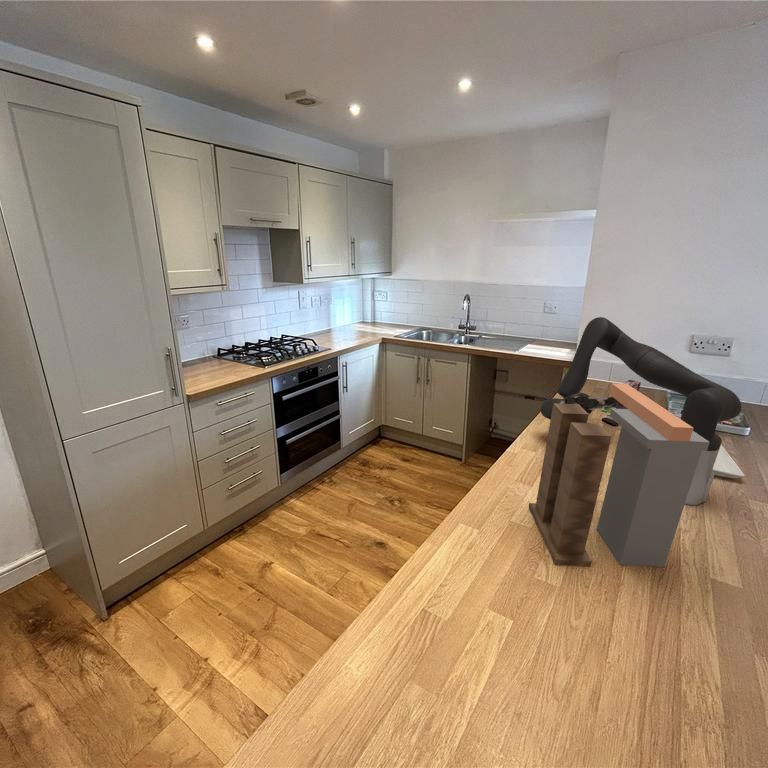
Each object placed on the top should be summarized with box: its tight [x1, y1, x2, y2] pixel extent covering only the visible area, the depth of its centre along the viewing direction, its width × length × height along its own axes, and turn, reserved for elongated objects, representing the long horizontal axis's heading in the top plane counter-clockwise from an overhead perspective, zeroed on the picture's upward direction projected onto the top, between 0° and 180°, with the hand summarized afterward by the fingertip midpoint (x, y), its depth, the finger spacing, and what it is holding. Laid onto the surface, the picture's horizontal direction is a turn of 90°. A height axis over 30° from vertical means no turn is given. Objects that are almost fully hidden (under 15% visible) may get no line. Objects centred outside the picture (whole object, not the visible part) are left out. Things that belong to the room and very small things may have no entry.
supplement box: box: [615, 379, 641, 409], centre depth 169 cm, size 9×5×16 cm, turn 132°
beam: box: [608, 382, 693, 441], centre depth 95 cm, size 26×4×3 cm, turn 177°
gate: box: [528, 403, 612, 568], centre depth 98 cm, size 8×21×32 cm, turn 178°
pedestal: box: [596, 408, 710, 568], centre depth 96 cm, size 12×16×32 cm
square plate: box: [712, 444, 745, 479], centre depth 143 cm, size 27×27×4 cm
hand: (600, 399), depth 116 cm, fingers open, 8 cm apart
